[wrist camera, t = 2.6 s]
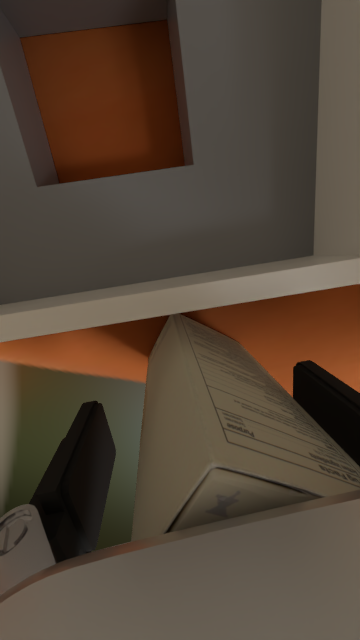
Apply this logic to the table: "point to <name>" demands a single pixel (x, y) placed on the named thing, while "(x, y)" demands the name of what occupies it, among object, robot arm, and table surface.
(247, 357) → the skincare box
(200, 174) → the bore box
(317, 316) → the table surface
